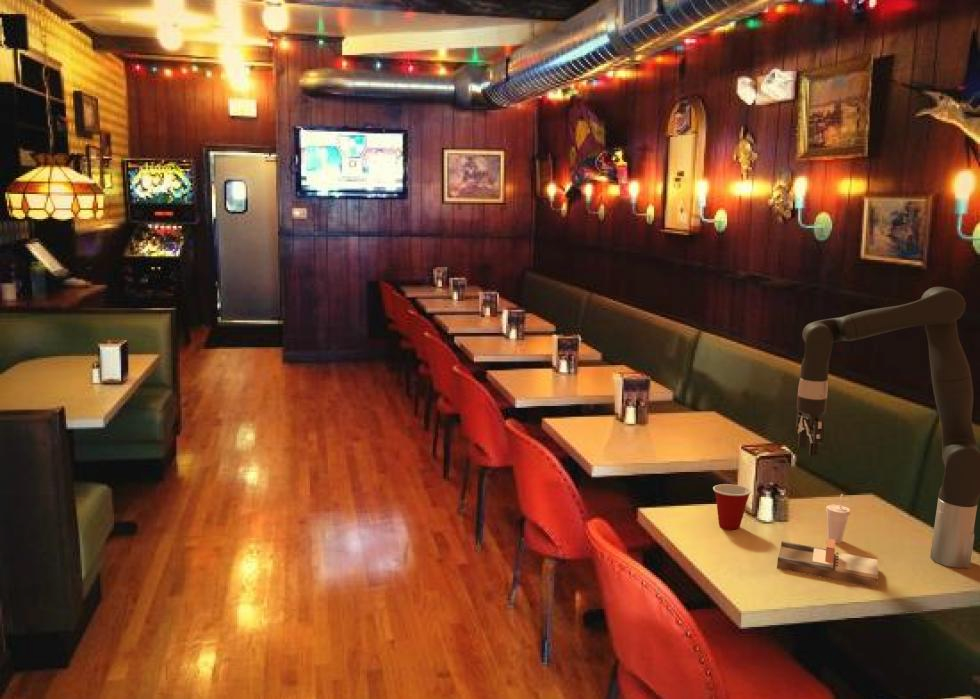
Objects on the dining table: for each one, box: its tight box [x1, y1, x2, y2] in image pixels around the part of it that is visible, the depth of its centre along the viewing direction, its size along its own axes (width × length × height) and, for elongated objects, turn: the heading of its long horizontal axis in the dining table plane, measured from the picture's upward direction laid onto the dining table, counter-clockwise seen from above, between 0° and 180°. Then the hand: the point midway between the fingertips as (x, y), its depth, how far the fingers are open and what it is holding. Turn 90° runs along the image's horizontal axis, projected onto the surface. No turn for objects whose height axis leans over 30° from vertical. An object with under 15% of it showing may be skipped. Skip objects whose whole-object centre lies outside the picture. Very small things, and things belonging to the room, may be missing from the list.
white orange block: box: [812, 537, 836, 566], centre depth 218 cm, size 5×9×5 cm, turn 156°
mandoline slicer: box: [776, 540, 879, 589], centre depth 218 cm, size 24×12×3 cm, turn 66°
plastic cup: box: [712, 483, 752, 531], centre depth 243 cm, size 11×11×12 cm
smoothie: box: [825, 493, 851, 544], centre depth 235 cm, size 6×6×14 cm
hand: (807, 451), depth 230 cm, fingers open, 8 cm apart
